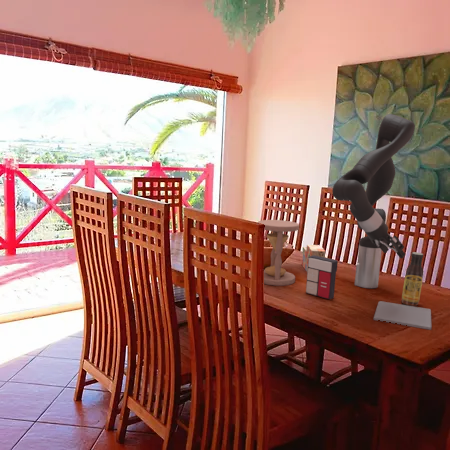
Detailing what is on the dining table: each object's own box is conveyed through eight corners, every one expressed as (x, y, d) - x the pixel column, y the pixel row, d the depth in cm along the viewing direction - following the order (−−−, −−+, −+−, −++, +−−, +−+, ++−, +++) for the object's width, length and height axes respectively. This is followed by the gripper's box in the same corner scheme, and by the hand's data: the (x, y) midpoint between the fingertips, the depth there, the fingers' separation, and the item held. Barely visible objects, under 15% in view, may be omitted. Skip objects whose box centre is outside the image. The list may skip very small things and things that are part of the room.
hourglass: (294, 287, 191) (298, 227, 186) (252, 283, 193) (255, 224, 189) (295, 276, 208) (299, 221, 204) (256, 272, 211) (259, 218, 206)
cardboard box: (301, 264, 230) (303, 240, 228) (314, 265, 230) (315, 241, 228) (309, 276, 209) (311, 250, 207) (323, 277, 209) (325, 250, 207)
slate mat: (373, 319, 157) (373, 317, 157) (378, 302, 176) (379, 300, 175) (431, 329, 150) (431, 327, 150) (430, 311, 169) (430, 309, 169)
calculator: (304, 293, 183) (307, 256, 181) (310, 291, 186) (313, 255, 184) (328, 300, 176) (332, 262, 174) (334, 298, 179) (337, 260, 177)
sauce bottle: (401, 305, 174) (407, 253, 171) (401, 300, 180) (406, 250, 177) (420, 307, 172) (426, 255, 169) (419, 303, 178) (425, 252, 174)
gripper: (393, 219, 157) (415, 250, 163) (365, 213, 170) (387, 242, 176) (378, 235, 156) (402, 266, 162) (352, 227, 169) (375, 256, 175)
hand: (394, 253), depth 169 cm, fingers open, 8 cm apart
